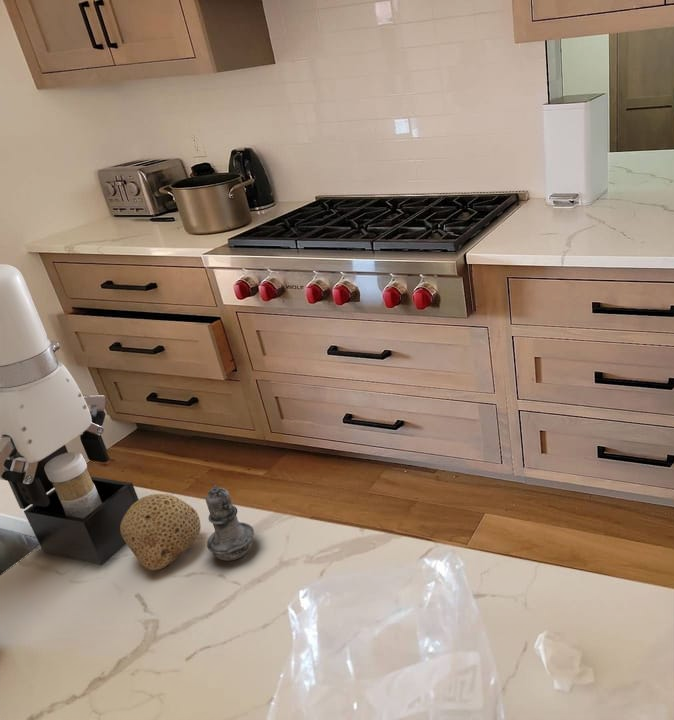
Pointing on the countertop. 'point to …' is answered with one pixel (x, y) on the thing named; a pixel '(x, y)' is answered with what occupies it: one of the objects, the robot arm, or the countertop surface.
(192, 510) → the natural sponge
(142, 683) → the countertop surface
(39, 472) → the lid
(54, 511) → the black open box
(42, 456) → the robot arm
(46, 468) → the sprinkles bottle
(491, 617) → the countertop surface
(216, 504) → the grey chess piece
